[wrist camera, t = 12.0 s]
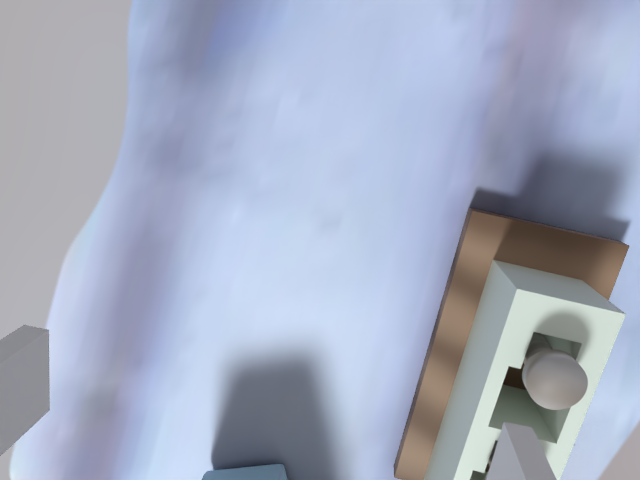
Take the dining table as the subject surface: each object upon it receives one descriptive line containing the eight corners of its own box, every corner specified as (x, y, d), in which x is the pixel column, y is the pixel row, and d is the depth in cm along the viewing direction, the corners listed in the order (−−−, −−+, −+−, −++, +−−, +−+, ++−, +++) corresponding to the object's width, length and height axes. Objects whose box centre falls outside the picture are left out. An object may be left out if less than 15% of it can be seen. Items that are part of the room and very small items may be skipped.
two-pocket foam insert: (492, 259, 39) (517, 288, 32) (582, 280, 38) (625, 314, 32) (423, 479, 44) (432, 544, 37) (501, 499, 44) (524, 568, 37)
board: (468, 207, 39) (501, 238, 29) (619, 241, 39) (707, 284, 28) (393, 466, 46) (398, 566, 35) (522, 499, 45) (565, 612, 35)
